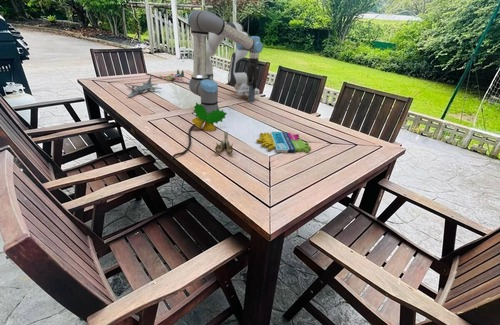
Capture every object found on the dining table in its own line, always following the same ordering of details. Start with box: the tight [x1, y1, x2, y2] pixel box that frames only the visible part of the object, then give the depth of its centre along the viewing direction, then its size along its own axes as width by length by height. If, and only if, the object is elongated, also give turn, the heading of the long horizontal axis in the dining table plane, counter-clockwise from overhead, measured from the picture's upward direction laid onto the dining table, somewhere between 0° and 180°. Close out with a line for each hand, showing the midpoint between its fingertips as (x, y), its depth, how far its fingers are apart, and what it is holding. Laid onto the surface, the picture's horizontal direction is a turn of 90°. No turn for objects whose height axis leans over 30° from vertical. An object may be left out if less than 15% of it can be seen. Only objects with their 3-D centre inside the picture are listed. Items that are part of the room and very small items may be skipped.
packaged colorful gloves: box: [256, 131, 312, 154], centre depth 152 cm, size 26×2×30 cm
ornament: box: [191, 102, 228, 132], centre depth 162 cm, size 21×8×15 cm, turn 105°
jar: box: [247, 84, 256, 103], centre depth 219 cm, size 5×5×16 cm
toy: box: [159, 69, 185, 82], centre depth 278 cm, size 28×7×30 cm
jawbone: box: [214, 131, 234, 156], centre depth 136 cm, size 9×15×10 cm
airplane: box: [127, 75, 162, 98], centre depth 225 cm, size 38×32×10 cm
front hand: (252, 87), depth 217 cm, fingers closed on lid, 6 cm apart
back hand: (252, 94), depth 220 cm, fingers closed on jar, 5 cm apart
